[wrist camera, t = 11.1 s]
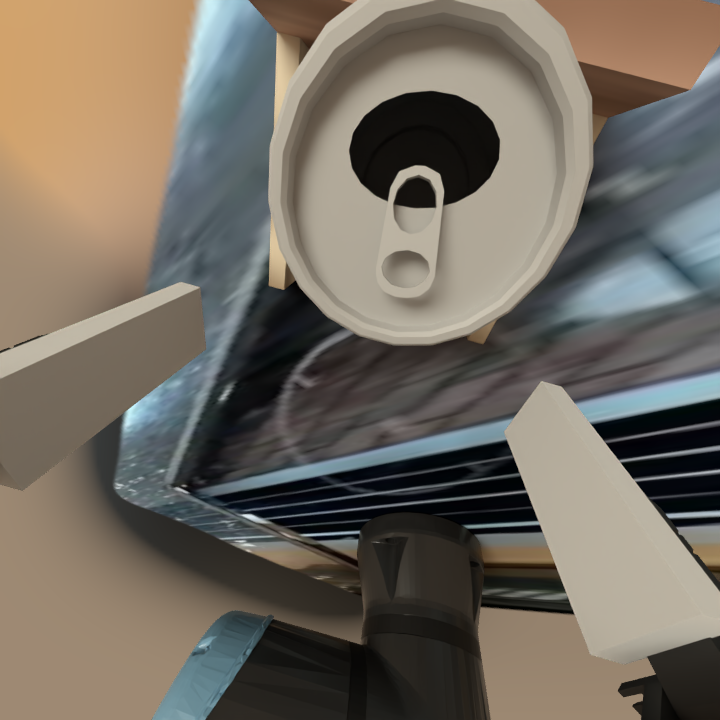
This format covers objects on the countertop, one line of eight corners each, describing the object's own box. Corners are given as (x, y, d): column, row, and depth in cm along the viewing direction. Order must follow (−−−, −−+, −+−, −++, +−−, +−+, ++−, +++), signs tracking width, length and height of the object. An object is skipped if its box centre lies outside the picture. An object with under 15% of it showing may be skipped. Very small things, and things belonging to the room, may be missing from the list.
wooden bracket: (477, 330, 19) (499, 382, 14) (281, 276, 19) (235, 309, 14) (605, 82, 12) (741, 10, 7) (297, 2, 12) (217, -121, 7)
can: (506, 108, 13) (816, -143, 3) (463, 269, 17) (536, 391, 7) (349, 101, 14) (182, -118, 4) (345, 257, 18) (258, 352, 8)
